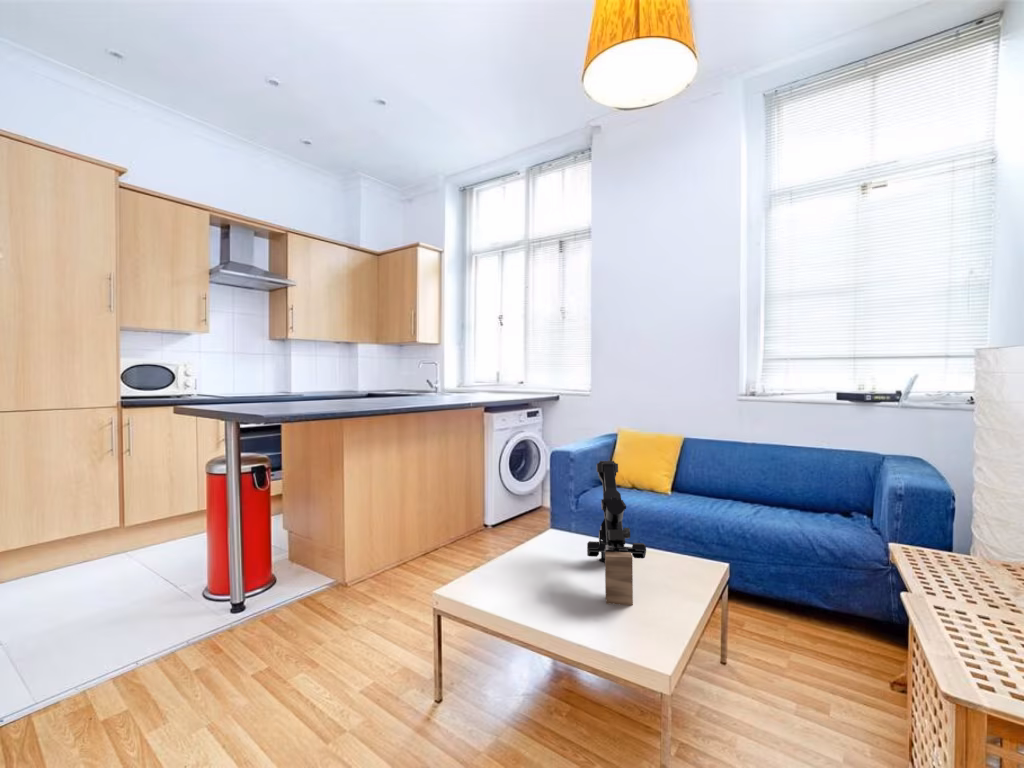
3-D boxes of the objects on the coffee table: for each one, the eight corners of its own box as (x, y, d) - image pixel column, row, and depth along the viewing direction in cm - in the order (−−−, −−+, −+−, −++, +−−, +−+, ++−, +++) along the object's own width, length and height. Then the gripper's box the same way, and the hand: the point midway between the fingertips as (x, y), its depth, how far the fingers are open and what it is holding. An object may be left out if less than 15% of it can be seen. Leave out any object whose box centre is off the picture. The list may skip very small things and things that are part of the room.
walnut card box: (605, 597, 141) (604, 551, 140) (631, 599, 140) (630, 552, 139) (606, 603, 137) (605, 556, 137) (632, 605, 136) (632, 557, 135)
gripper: (586, 517, 147) (588, 563, 136) (644, 518, 144) (651, 566, 133) (586, 533, 155) (588, 578, 143) (641, 535, 152) (647, 581, 141)
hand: (618, 575), depth 140 cm, fingers closed
